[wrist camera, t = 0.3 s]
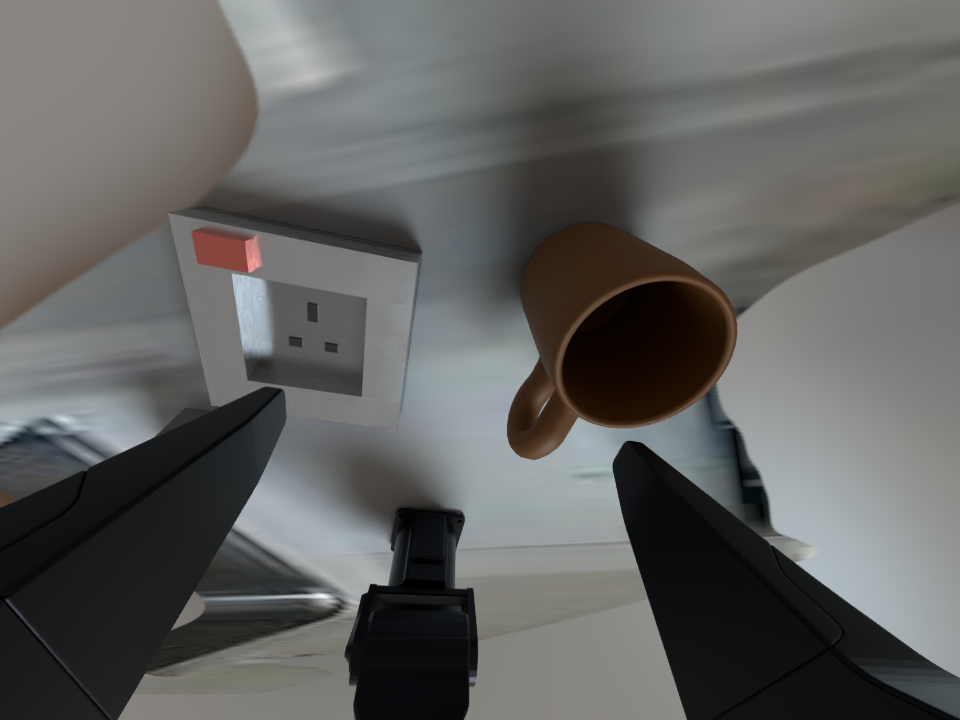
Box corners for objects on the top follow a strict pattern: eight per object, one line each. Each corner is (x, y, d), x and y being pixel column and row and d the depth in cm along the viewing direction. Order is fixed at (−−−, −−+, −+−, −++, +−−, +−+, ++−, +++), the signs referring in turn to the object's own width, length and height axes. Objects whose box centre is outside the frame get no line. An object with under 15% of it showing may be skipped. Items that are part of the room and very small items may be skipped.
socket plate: (401, 408, 27) (395, 436, 24) (231, 384, 25) (205, 411, 22) (422, 251, 21) (416, 266, 18) (199, 205, 19) (158, 215, 16)
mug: (541, 396, 27) (575, 504, 19) (457, 349, 24) (454, 450, 16) (665, 266, 22) (783, 337, 14) (574, 190, 19) (654, 222, 11)
